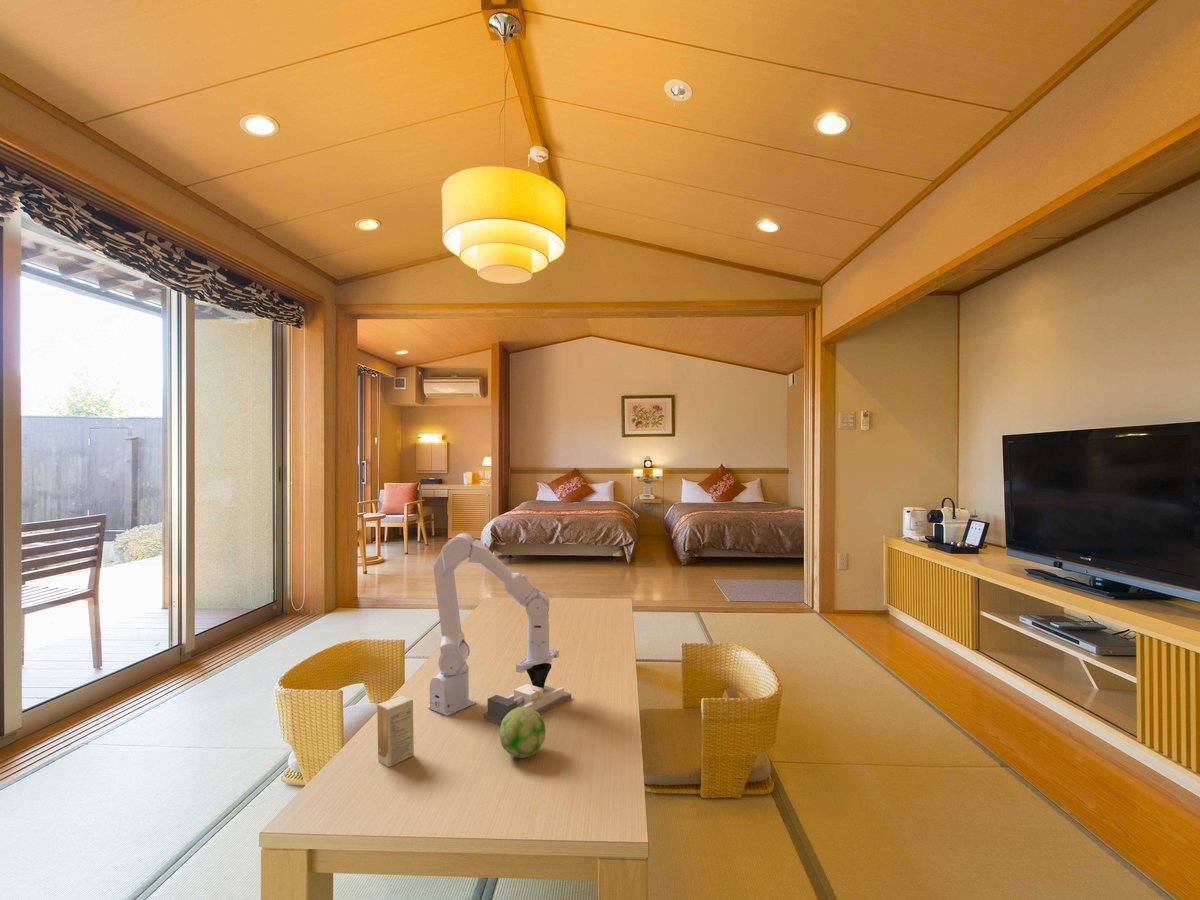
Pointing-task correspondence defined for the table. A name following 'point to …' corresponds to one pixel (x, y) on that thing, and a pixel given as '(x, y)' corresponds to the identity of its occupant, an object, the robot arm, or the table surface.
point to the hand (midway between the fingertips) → (538, 692)
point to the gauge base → (504, 705)
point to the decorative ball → (522, 732)
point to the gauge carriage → (527, 694)
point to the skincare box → (395, 730)
